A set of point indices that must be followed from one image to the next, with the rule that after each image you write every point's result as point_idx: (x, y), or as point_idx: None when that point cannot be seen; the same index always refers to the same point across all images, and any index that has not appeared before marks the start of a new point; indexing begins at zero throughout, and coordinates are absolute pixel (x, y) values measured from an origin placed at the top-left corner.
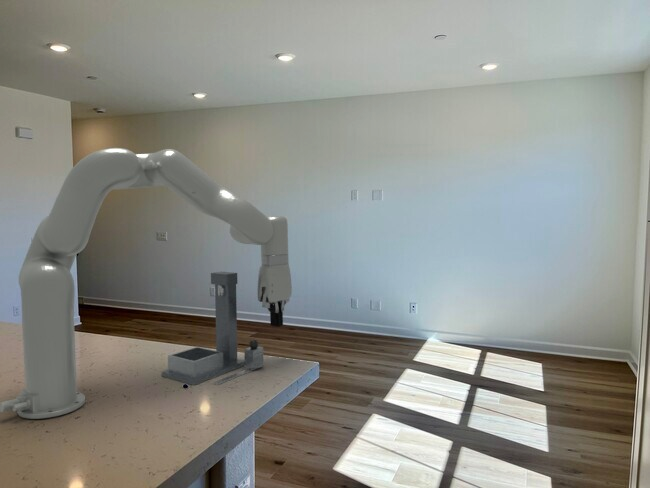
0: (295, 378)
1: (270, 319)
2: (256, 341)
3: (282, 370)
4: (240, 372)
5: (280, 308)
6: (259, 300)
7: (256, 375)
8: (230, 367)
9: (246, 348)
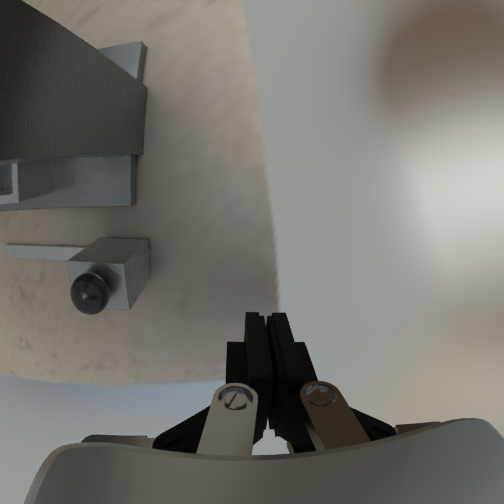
0: (148, 384)
1: (248, 333)
2: (88, 313)
3: (170, 334)
4: (71, 252)
5: (290, 446)
6: (70, 456)
7: None
8: (66, 206)
9: (75, 263)
